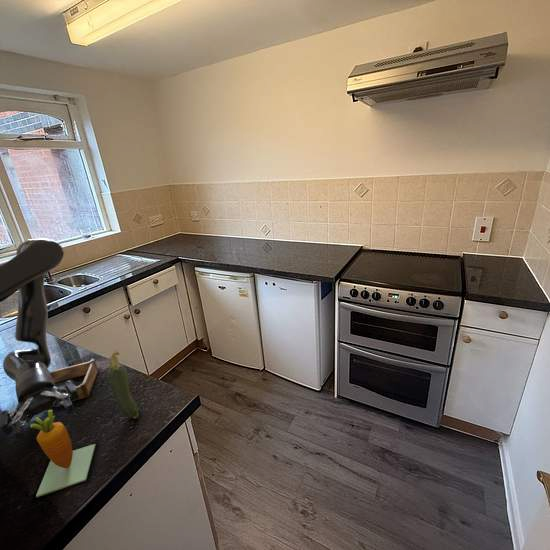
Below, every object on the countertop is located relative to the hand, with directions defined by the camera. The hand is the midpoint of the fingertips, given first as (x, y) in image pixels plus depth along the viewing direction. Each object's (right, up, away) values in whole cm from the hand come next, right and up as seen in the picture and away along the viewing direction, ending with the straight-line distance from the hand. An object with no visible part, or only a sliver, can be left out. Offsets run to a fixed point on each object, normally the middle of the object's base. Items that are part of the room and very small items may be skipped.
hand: (46, 422), depth 64 cm
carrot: (+4, -10, +1) cm, 11 cm away
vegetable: (+12, -5, +13) cm, 19 cm away
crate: (-13, -3, +26) cm, 29 cm away
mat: (+4, -11, +1) cm, 11 cm away
